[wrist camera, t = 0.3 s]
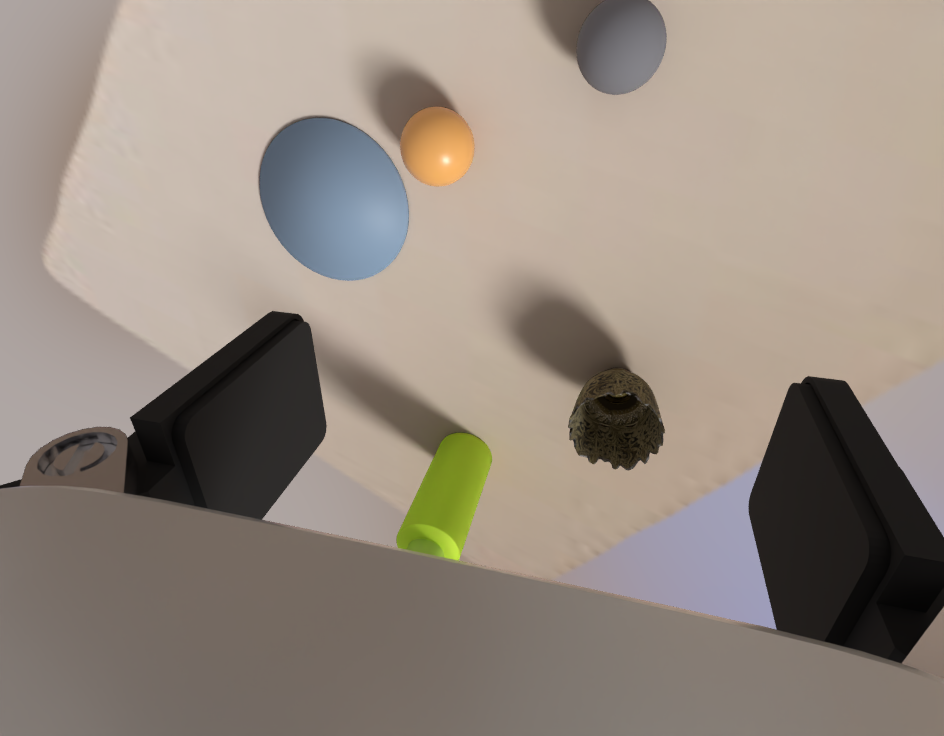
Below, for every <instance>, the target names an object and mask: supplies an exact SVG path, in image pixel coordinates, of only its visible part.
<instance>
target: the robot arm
mask: <svg viewBox="0 0 944 736" xmlns="http://www.w3.org/2000/svg"><path fill="white" fill-rule="evenodd" d="M130 419H131V421H132V424H133V426H134V429H135V432H134V433H133V434H132V435H131V436H129V437H128V438H127V436H126V434H125V433H123V432H122V431H121V430H119V429H116V428H112V427H93V428H86V429H82V430H78V431H75V432H72V433H68V434H66V435H63V436H61V437H59V438H57V439H55V440H52V441H51V442H49V443H48V444H46V445H44V446H43V447H41V448H40V449H39V450H38V451H37V452H36V453H35V454H33V455H32V456H31V458H30V460H29V461H28V463H27V464H26V467H25V470H24V473H23V477H22V479H21V480H18V481H14V482H11V483H7V484H4V485H0V736H944V537H943V535H942V534H941V532H940V530H939V529H938V527H937V526H936V524H935V522H934V521H933V519H932V518H931V516H930V514H929V513H928V511H927V509H926V508H925V506H924V505H923V503H922V501H921V500H920V498H919V497H918V495H917V493H916V492H915V490H914V489H913V487H912V485H911V484H910V482H909V480H908V479H907V477H906V476H905V474H904V472H903V471H902V470H901V469H900V467H899V466H898V465H897V463H896V461H895V460H894V458H893V456H892V455H891V453H890V452H889V450H888V448H887V447H886V445H885V444H884V442H883V440H882V439H881V437H880V435H879V434H878V432H877V430H876V429H875V427H874V426H873V424H872V422H871V421H870V419H869V418H868V416H867V414H866V413H865V411H864V409H863V408H862V406H861V404H860V403H859V401H858V400H857V398H856V396H855V395H854V393H853V391H852V390H851V388H850V387H849V385H848V384H847V383H846V382H845V381H842V380H834V379H826V378H818V377H809V376H808V377H806V378H805V379H804V380H803V381H802V383H801V384H800V383H793V384H791V386H790V387H789V389H788V392H787V395H786V397H785V400H784V403H783V406H782V409H781V411H780V414H779V417H778V420H777V422H776V425H775V428H774V431H773V434H772V436H771V439H770V442H769V445H768V447H767V450H766V453H765V456H764V458H763V461H762V464H761V467H760V470H759V472H758V476H757V478H756V481H755V483H754V486H753V489H752V492H751V495H750V499H749V516H750V520H751V524H752V529H753V532H754V537H755V541H756V545H757V549H758V553H759V557H760V562H761V566H762V570H763V574H764V578H765V583H766V587H767V591H768V595H769V599H770V603H771V608H772V612H773V616H774V620H775V624H776V628H777V630H775V629H771V628H767V627H763V626H759V625H754V624H749V623H744V622H739V621H735V620H730V619H726V618H721V617H717V616H713V615H708V614H703V613H699V612H695V611H690V610H686V609H681V608H677V607H672V606H668V605H663V604H658V603H654V602H649V601H644V600H640V599H635V598H631V597H626V596H621V595H617V594H612V593H607V592H603V591H598V590H593V589H589V588H584V587H579V586H575V585H570V584H566V583H561V582H557V581H552V580H547V579H543V578H538V577H533V576H529V575H524V574H519V573H515V572H510V571H505V570H501V569H496V568H491V567H486V566H482V565H477V564H472V563H467V562H463V561H458V560H453V559H449V558H444V557H439V556H434V555H430V554H425V553H420V552H415V551H411V550H406V549H401V548H396V547H391V546H386V545H382V544H377V543H372V542H367V541H362V540H358V539H353V538H348V537H343V536H339V535H334V534H329V533H324V532H319V531H314V530H309V529H304V528H300V527H295V526H290V525H284V524H280V523H275V522H270V521H265V520H262V518H263V517H264V516H265V515H266V513H267V512H268V511H269V509H270V508H271V507H272V506H273V504H274V503H275V502H276V501H277V499H278V498H279V497H280V495H281V494H282V493H283V491H284V490H285V489H286V488H287V486H288V485H289V484H290V482H291V481H292V480H293V478H294V477H295V476H296V475H297V473H298V472H299V471H300V469H301V468H302V467H303V466H304V464H305V463H306V462H307V460H308V459H309V458H310V456H311V455H312V454H313V453H314V451H315V450H316V449H317V447H318V446H319V445H320V444H321V442H322V441H323V439H324V437H325V433H326V419H325V413H324V407H323V400H322V394H321V388H320V382H319V376H318V370H317V364H316V358H315V352H314V346H313V339H312V333H311V328H310V326H309V324H308V323H307V322H304V320H303V318H302V317H301V316H300V315H299V314H292V313H284V312H276V311H272V312H270V313H268V314H267V315H265V316H264V317H263V318H261V319H260V320H259V321H257V322H256V323H255V324H253V325H252V326H251V327H249V328H248V329H247V330H246V331H244V332H243V333H242V334H240V335H239V336H238V337H236V338H235V339H234V340H232V341H231V342H230V343H228V344H227V345H226V346H224V347H223V348H222V349H220V350H219V351H218V352H216V353H215V354H214V355H212V356H211V357H210V358H208V359H207V360H206V361H204V362H203V363H202V364H200V365H199V366H198V367H196V368H195V369H194V370H193V371H191V372H190V373H189V374H187V375H186V376H185V377H183V378H182V379H181V380H179V381H178V382H177V383H175V384H174V385H173V386H172V387H170V388H169V389H167V390H166V391H165V392H163V393H162V394H161V395H159V396H158V397H157V398H156V399H154V400H153V401H151V402H150V403H149V404H147V405H146V406H145V407H144V408H142V409H141V410H140V411H138V412H137V413H136V414H134V415H133V416H132V417H130Z"/></svg>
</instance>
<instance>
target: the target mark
mask: <svg viewBox="0 0 944 736" xmlns="http://www.w3.org/2000/svg"><path fill="white" fill-rule="evenodd" d="M260 195H261V201H262V205H263V209H264V212H265V215H266V218H267V220H268V222H269V224H270V227H271V229H272V230H273V232H274V234H275V235H276V237H277V238H278V240H279V241H280V243H281V244H282V245H283V246H284V248H285V249H286V250H287V251H288V252H289V253H290V254H291V255H292V256H293V257H294V258H295V259H296V260H298V261H299V262H300V263H301V264H303V265H304V266H306V267H307V268H309V269H311V270H312V271H314V272H316V273H318V274H321V275H323V276H326V277H329V278H333V279H338V280H348V281H349V280H360V279H365V278H368V277H371V276H373V275H375V274H377V273H379V272H381V271H382V270H383V269H385V268H386V267H387V266H388V265H389V264H390V263H391V262H392V261H393V260H394V259H395V258H396V256H397V255H398V253H399V252H400V250H401V248H402V246H403V244H404V241H405V238H406V234H407V229H408V223H409V209H408V200H407V195H406V191H405V188H404V185H403V182H402V179H401V177H400V175H399V173H398V171H397V169H396V167H395V165H394V164H393V162H392V160H391V159H390V158H389V156H388V155H387V154H386V152H385V151H384V150H383V149H382V148H381V147H380V146H379V145H378V144H377V143H376V142H375V141H374V140H373V139H372V138H371V137H369V136H368V135H367V134H366V133H364V132H362V131H361V130H359V129H358V128H356V127H354V126H352V125H350V124H347V123H345V122H342V121H338V120H335V119H329V118H311V119H305V120H302V121H299V122H296V123H294V124H292V125H290V126H288V127H286V128H285V129H284V130H283V131H281V132H280V133H279V134H278V135H277V136H276V137H275V138H274V140H273V141H272V142H271V144H270V145H269V147H268V149H267V151H266V153H265V156H264V158H263V162H262V165H261V171H260Z"/></svg>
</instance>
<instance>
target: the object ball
mask: <svg viewBox="0 0 944 736" xmlns="http://www.w3.org/2000/svg"><path fill="white" fill-rule="evenodd" d="M400 150H401V156H402V159H403V162H404V164H405V166H406V168H407V169H408V171H409V172H410V173H411V174H412V175H413V176H414V177H415V178H416V179H417V180H419V181H420V182H422V183H425V184H427V185H430V186H446V185H449V184H452V183H454V182H456V181H457V180H459V179H460V178H461V177H462V176H463V175H464V174H465V173H466V172H467V170H468V169H469V167H470V165H471V163H472V160H473V156H474V138H473V135H472V132H471V129H470V127H469V126H468V124H467V123H466V121H465V120H464V119H463V118H462V117H461V116H460V115H459V114H458V113H456V112H454V111H452V110H450V109H448V108H444V107H429V108H425V109H423V110H421V111H419V112H417V113H416V114H414V115H413V116H412V117H411V118H410V120H409V121H408V122H407V124H406V125H405V127H404V129H403V132H402V135H401V141H400Z"/></svg>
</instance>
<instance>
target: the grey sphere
mask: <svg viewBox="0 0 944 736" xmlns="http://www.w3.org/2000/svg"><path fill="white" fill-rule="evenodd" d="M665 48H666V28H665V24H664V21H663V18H662V16H661V14H660V12H659V11H658V9H657V8H656V7H655V6H654V5H653V4H652V3H651V2H650V1H648V0H605V1H603V2H602V3H600V4H599V5H598V6H597V7H596V8H595V9H594V10H593V11H592V12H591V13H590V14H589V15H588V17H587V18H586V20H585V22H584V23H583V25H582V28H581V30H580V33H579V36H578V41H577V61H578V65H579V68H580V71H581V73H582V75H583V76H584V78H585V80H586V81H587V82H588V83H589V84H590V85H591V86H592V87H594V88H595V89H597V90H598V91H601V92H603V93H606V94H612V95H619V94H625V93H628V92H631V91H634V90H636V89H637V88H639V87H641V86H642V85H643V84H645V83H646V82H647V81H648V80H649V79H650V78H651V77H652V76H653V74H654V73H655V72H656V70H657V69H658V67H659V65H660V63H661V61H662V58H663V56H664V52H665Z"/></svg>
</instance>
